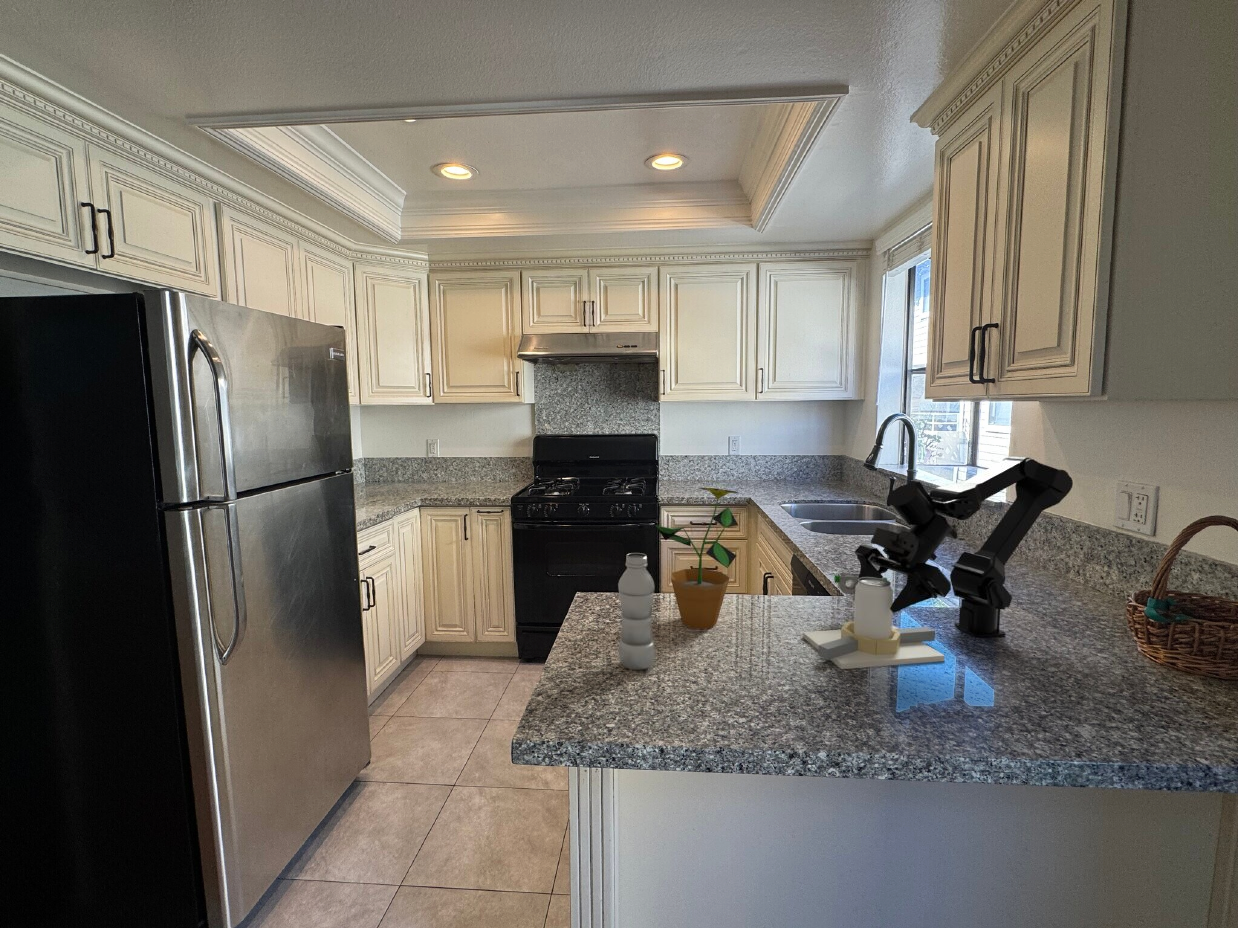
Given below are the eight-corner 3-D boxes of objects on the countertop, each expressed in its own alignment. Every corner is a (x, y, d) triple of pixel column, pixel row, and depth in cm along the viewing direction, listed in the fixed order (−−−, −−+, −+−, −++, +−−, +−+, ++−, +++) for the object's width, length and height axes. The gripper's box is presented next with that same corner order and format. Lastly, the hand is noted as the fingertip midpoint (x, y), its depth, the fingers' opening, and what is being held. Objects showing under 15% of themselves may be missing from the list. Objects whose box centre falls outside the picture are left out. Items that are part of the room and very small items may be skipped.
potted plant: (761, 630, 113) (764, 485, 110) (681, 645, 105) (682, 491, 103) (714, 602, 129) (715, 476, 126) (642, 614, 122) (642, 480, 119)
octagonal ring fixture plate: (906, 629, 112) (907, 613, 112) (958, 659, 99) (959, 640, 98) (791, 637, 109) (791, 620, 108) (828, 670, 95) (829, 650, 95)
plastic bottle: (630, 678, 92) (629, 562, 91) (612, 662, 98) (611, 553, 97) (662, 669, 95) (662, 557, 94) (643, 654, 101) (642, 549, 100)
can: (851, 634, 107) (853, 575, 106) (887, 638, 106) (889, 577, 105) (855, 648, 101) (857, 584, 100) (894, 652, 99) (896, 587, 98)
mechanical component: (886, 625, 115) (888, 578, 114) (835, 621, 117) (836, 576, 116) (882, 619, 118) (884, 574, 117) (832, 616, 120) (834, 572, 119)
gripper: (863, 505, 112) (816, 563, 110) (941, 522, 94) (887, 591, 92) (893, 540, 115) (847, 596, 113) (974, 563, 97) (922, 630, 95)
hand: (873, 602), depth 103 cm, fingers open, 9 cm apart
